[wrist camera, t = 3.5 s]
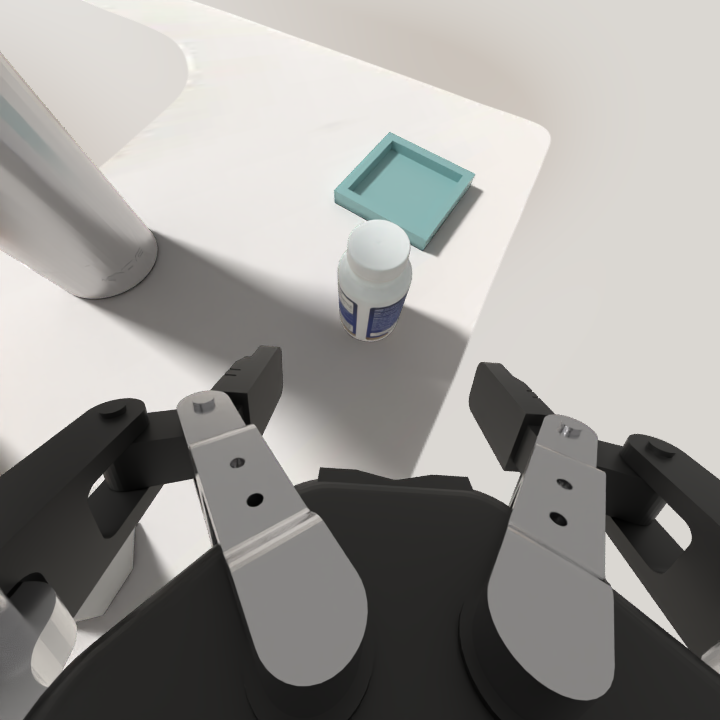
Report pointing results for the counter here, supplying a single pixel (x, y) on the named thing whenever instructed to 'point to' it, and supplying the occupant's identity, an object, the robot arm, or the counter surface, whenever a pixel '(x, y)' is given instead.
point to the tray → (404, 188)
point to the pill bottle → (373, 279)
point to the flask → (109, 582)
